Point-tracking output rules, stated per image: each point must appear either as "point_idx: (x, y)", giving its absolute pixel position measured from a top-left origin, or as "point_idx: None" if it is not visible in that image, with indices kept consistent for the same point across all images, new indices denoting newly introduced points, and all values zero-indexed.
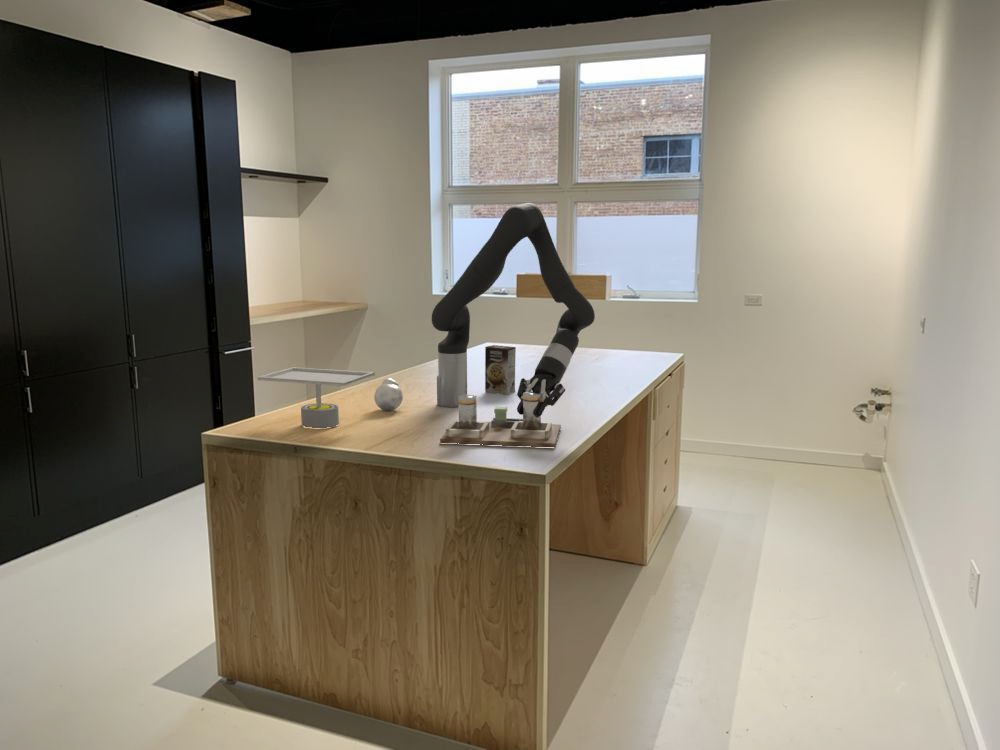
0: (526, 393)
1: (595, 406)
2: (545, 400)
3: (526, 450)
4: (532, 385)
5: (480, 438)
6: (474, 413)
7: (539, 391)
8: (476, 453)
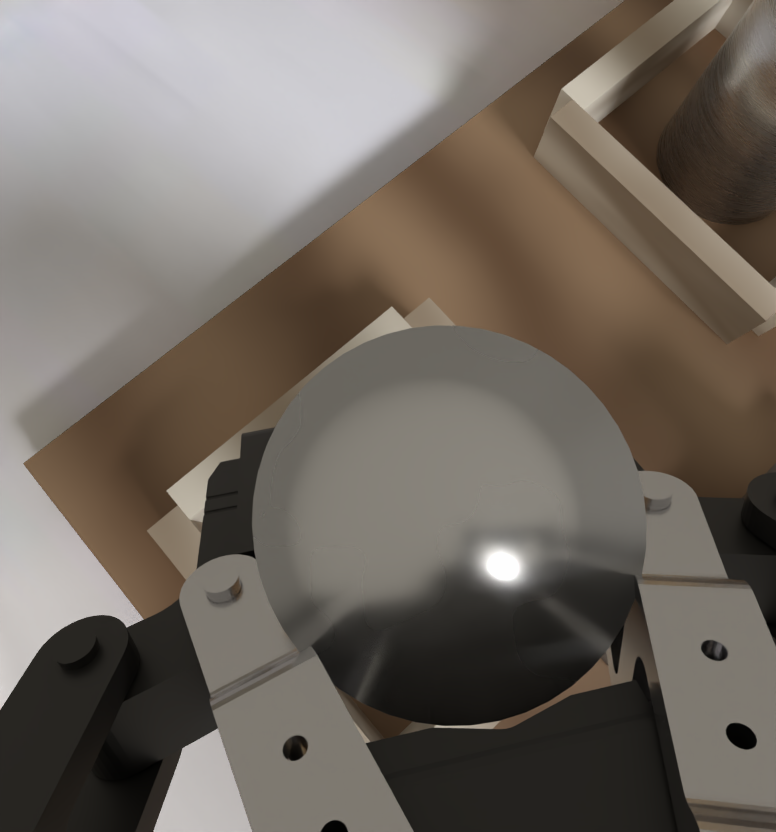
0: (515, 414)
1: None
2: (183, 636)
3: (183, 292)
4: (726, 740)
5: (533, 135)
6: (763, 37)
7: (429, 730)
8: (359, 23)
